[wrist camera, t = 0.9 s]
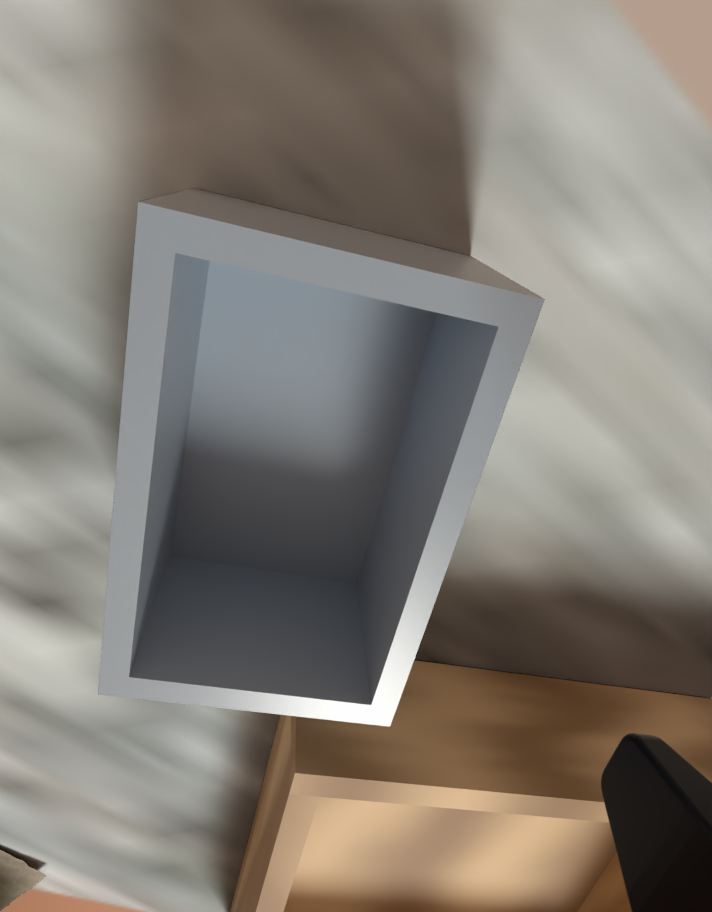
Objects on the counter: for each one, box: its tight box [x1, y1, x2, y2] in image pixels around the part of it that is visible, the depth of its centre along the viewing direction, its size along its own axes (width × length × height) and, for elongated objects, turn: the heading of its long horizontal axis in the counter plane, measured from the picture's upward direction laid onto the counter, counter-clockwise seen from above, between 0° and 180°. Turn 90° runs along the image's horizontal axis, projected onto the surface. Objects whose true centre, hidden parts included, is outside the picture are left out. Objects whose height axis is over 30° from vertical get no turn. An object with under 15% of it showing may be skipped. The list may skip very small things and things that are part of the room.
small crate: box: [98, 188, 545, 727], centre depth 14 cm, size 10×6×5 cm, turn 167°
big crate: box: [230, 660, 712, 912], centre depth 22 cm, size 15×15×4 cm
